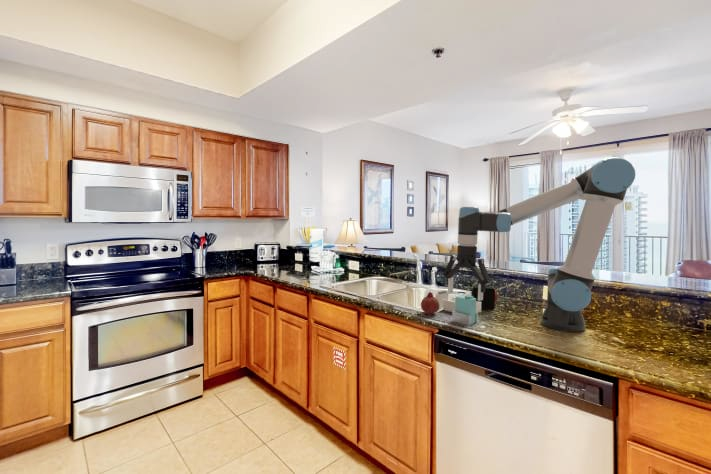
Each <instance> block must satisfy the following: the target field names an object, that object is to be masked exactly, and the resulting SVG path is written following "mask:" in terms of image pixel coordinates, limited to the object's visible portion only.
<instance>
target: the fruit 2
mask: <svg viewBox="0 0 711 474" xmlns="http://www.w3.org/2000/svg"><path fill="white" fill-rule="evenodd" d="M420 308H421V310H422V311H423V312H424V313H425V314H427V315H434V314H436V313H437V312H438V311H439V310H440V308H439V302H438V300H437V298H436V296H434V295H433V292H431V291H428V293H427V295H426V296H424V297H423V298H422V299H421V302H420Z"/></svg>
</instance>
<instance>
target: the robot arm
mask: <svg viewBox="0 0 711 474" xmlns="http://www.w3.org/2000/svg"><path fill="white" fill-rule="evenodd" d="M635 179H636V169H635V167H634V166H633V164H632V163H631V162H630V161H629V160H627V159H625V158H622V157H609V158H608V157H607V158H604V159H601V160H599V161H598V162H596V164H594V165H592V167H590V168H589V169H587V170H586V171H584V172H582V173H580V174H578V175H576V176H573V177H572V178H571V180H570V181H568V182H565V183H563V184H561V185H558V186H556V187H553V188H552V189H549V190H546V191H543V192H542V193H539V194H537V195H535V196H532V197H529V198H527V199H525V200H522V201H519V202H518V203H515V204H512V205H510V206H508V207H505V208H503V209H500V210H498V211H496V212H494V211H493V212H492V211H489V212H487V211H484V212H483V211H480V209H479V206H478V207H477V206H462V207H460V208H459V212H458V213H459V215H458V234H457V244H458V245H457V252H456V253H457V255H456V254H451V255H450V257H449V261H448V262H447V265H446V266H445V268H444V270H443V272H442V276H443V277H446V286H447V292H448V295H450V294H453V293H454V277H453V276H454V275H455V274H456V273H457V272H458V271H459V270H460V269H461V268H465V269H470V270H471V272H473V275H474V276H475V278H477V280H478V281H479V283H478V285H477V286H478V301H480V300H483V292H485V288H486V286H487V284H490V283H491V282H492V281H491V278H490V275H489V272H488V271H487V268H486V266H485V259H484V258H477V254H478V251H477V250H478V247H477V246H478V234H479V233H478V232H494V233H508V232H510V231H511V229H512V228H511V227H512V226H513V225H515V224H519V223H521V222H524V221H526V220H528V219H532V218H534V217H536V216H539V215H542V214H544V213H547V212H549V211H552V210H555V209H557V208H560V207H563V206H565V205H568V204H570V203H573V202H575V201H578V200H581V201H585V203H584V205H583V207H582V208H583V209H582V211H581V214H580V217H579V218H578V219H579V220H578V223H577V225H576V227H575V232H574V234H573V237H572V240H571V243H570V246H569V249H568V252H567V255H566V257H565V261H564V264H563V265H560V266H558V267H557V268H553V267H552V268H549V270H548V274H547V296H546V298H547V299H546V306H545V308H544V310H543V312H542V315H541V320H540V321H541V322H540V323H541V325H543V326H544V327H547V328H550V329H553V330H556V331H561V332H567V333H568V332H569V333H570V332H571V333H578V332H583V331H585V330H586V321H585V317H584V315H583V312H582V310H584V309H585V308H587V307H588V306H589V305H590V303H591V301H592V289H593V286H594V282H595V279H596V276H594V274H593V269H594V267H595V264H596V261H597V258H598V255H599V253H600V250H601V247H602V244H603V242H604V239H605V235H606V233H607V230H608V228H609V224H610V222H611V219H612V216H613V213H614V210H615V208H616V206H617V205H619V204H622V203H623V201H624V199H625V196H626V195H627V190H628V189H629V188H630V187H631V186H632V184H633V183H634V181H635ZM456 261H457V263H456V264H455V262H456ZM454 264H455V266H454ZM453 266H454V267H453Z"/></svg>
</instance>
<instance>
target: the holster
mask: <svg viewBox="0 0 711 474" xmlns="http://www.w3.org/2000/svg"><path fill="white" fill-rule="evenodd" d="M451 314H452V316H451V322H454V323H457V324H458V323H459V324H462V325H464V326H465V325H466V326H468V327H469V326H471V325H472V324H471V315H468V314H464V313H460V312H456V311H452V312H451ZM475 323H479V312H476V319H475Z"/></svg>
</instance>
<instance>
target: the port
mask: <svg viewBox="0 0 711 474" xmlns="http://www.w3.org/2000/svg"><path fill="white" fill-rule="evenodd" d="M455 297H456V296H451V297H450V299H451V300H450V299H449V294H448V290H440V291H437V293H435V298H437V300H438V302H439V309H440V308H442V310H443V311H446V312H451V313H452V311H455ZM476 312H478V313H482V309H481V302H477V301H476Z"/></svg>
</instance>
